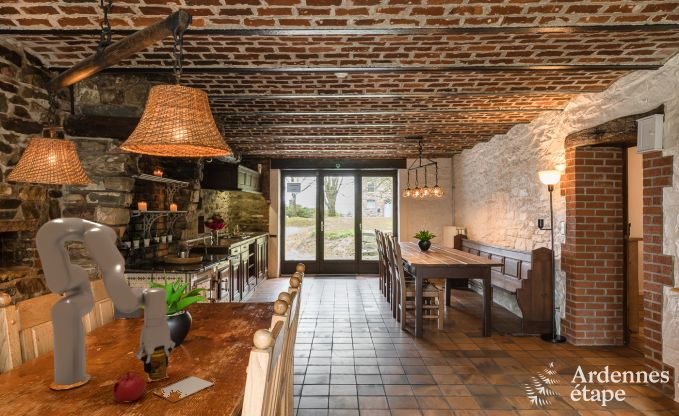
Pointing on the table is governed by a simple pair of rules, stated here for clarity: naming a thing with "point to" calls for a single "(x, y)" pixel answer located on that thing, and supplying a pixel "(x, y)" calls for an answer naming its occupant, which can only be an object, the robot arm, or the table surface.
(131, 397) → the pomegranate
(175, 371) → the table surface
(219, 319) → the table surface
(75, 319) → the robot arm
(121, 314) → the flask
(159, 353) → the condiment
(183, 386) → the mat
